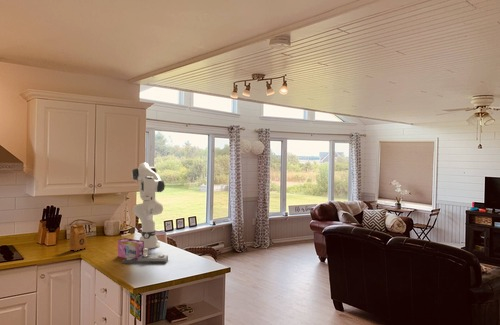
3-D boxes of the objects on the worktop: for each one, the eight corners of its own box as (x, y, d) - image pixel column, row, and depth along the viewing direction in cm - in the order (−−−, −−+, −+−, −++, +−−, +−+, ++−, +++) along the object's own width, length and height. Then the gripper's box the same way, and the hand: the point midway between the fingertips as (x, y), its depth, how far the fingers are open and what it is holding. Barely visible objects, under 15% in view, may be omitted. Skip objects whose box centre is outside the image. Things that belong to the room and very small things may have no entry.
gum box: (145, 258, 287) (145, 241, 287) (137, 260, 280) (137, 243, 280) (125, 254, 300) (125, 237, 300) (117, 256, 293) (117, 239, 293)
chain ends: (126, 260, 281) (126, 253, 281) (168, 260, 281) (168, 253, 281) (122, 263, 272) (122, 256, 272) (165, 263, 272) (165, 256, 272)
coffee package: (88, 249, 319) (88, 223, 319) (75, 252, 308) (75, 225, 308) (80, 247, 324) (80, 222, 324) (67, 250, 313) (67, 224, 313)
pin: (143, 261, 278) (143, 248, 278) (148, 261, 278) (148, 248, 278) (142, 262, 275) (142, 249, 275) (147, 262, 275) (147, 249, 275)
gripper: (149, 195, 298) (149, 212, 298) (141, 198, 277) (141, 216, 277) (156, 195, 298) (157, 212, 298) (149, 198, 277) (149, 216, 277)
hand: (149, 214), depth 287 cm, fingers open, 8 cm apart
